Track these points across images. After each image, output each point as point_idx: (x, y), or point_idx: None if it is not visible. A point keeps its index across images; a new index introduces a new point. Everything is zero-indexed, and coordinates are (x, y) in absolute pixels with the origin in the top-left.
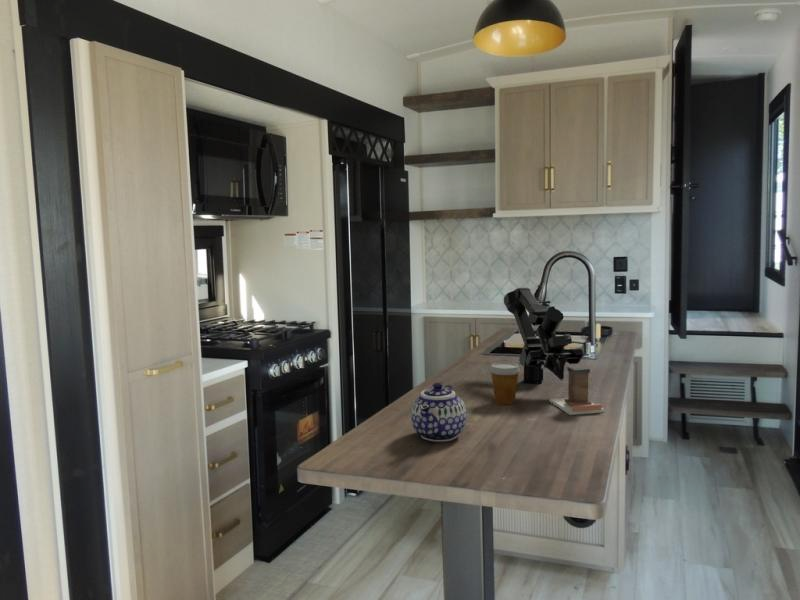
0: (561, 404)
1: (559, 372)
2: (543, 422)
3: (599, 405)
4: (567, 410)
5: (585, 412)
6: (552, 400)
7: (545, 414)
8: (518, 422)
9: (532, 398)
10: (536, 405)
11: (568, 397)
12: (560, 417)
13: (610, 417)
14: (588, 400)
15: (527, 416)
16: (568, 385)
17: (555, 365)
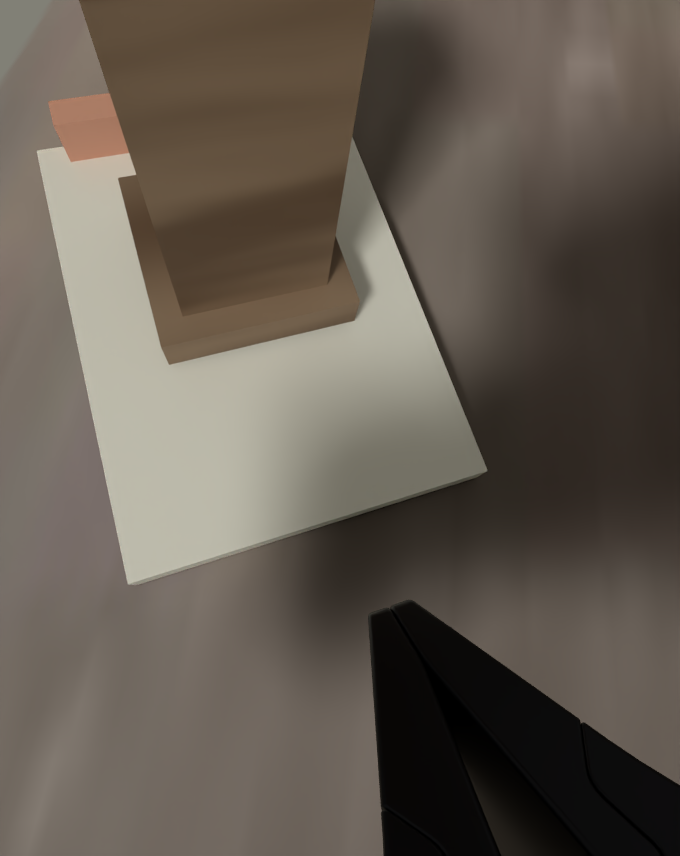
0: (386, 283)
1: (474, 667)
2: (518, 9)
3: (71, 103)
4: (353, 144)
5: None
6: (459, 412)
7: (508, 145)
8: (658, 20)
9: (637, 605)
10: (583, 363)
11: (327, 271)
12: (409, 84)
13: (44, 63)
14: (131, 228)
15: (621, 113)
16: (343, 180)
17: (666, 809)
